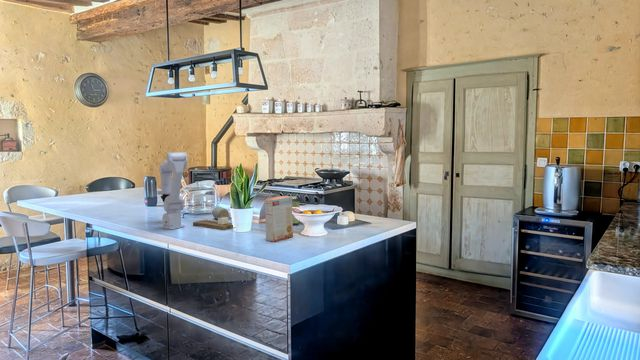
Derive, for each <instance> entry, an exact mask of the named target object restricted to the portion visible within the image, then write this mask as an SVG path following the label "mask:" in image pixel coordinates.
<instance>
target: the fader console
mask: <svg viewBox="0 0 640 360" xmlns="http://www.w3.org/2000/svg"><path fill="white" fill-rule="evenodd" d="M232 223H233V222H228V223H227V224H223V225H221V224H218V220H212V219H207V218H206V219H202V220H201V219H200V220H197V221H193V222H192V226H193V227H200V228H207V229H213V230H219V231H227V230H230V229H234V228H233V225H232Z"/></svg>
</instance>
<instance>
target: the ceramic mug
mask: <svg viewBox="0 0 640 360" xmlns="http://www.w3.org/2000/svg"><path fill="white" fill-rule="evenodd" d="M212 216H213V218H214V219H216V220H218V218H222V217H228V219H231V218H232V217H230V216H231V215H230V213H229V210H228V209H226V208H224V207H222V206H220V205H219V206H215V207H214V208H213V210H212Z"/></svg>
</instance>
